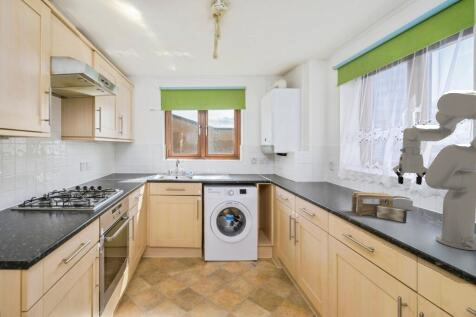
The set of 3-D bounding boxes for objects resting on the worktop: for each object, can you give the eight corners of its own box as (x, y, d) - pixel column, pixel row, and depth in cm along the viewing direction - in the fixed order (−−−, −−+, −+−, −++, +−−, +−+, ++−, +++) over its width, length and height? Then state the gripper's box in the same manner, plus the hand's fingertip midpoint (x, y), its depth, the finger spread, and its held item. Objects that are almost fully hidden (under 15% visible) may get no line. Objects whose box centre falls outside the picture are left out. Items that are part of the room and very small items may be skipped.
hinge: (407, 208, 150) (411, 195, 146) (411, 212, 145) (415, 199, 141) (380, 206, 151) (383, 193, 148) (383, 211, 147) (387, 197, 143)
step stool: (392, 217, 128) (393, 196, 128) (358, 215, 130) (359, 194, 130) (382, 212, 138) (383, 192, 138) (351, 211, 140) (352, 191, 139)
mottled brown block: (374, 216, 128) (374, 206, 128) (375, 216, 129) (375, 205, 129) (406, 222, 119) (406, 211, 118) (406, 221, 120) (406, 210, 120)
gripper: (397, 151, 117) (396, 184, 118) (434, 151, 116) (432, 185, 116) (389, 151, 125) (388, 182, 126) (423, 151, 123) (422, 183, 124)
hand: (409, 184), depth 121 cm, fingers open, 8 cm apart
